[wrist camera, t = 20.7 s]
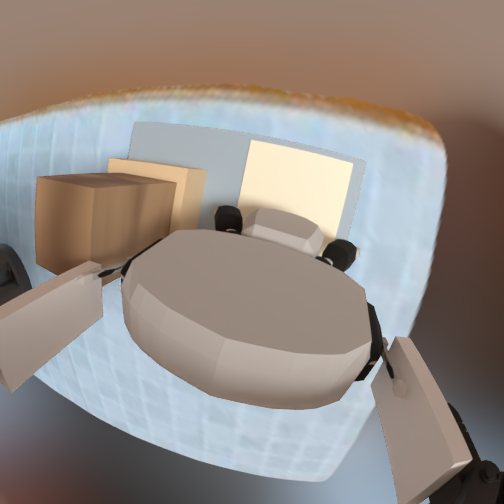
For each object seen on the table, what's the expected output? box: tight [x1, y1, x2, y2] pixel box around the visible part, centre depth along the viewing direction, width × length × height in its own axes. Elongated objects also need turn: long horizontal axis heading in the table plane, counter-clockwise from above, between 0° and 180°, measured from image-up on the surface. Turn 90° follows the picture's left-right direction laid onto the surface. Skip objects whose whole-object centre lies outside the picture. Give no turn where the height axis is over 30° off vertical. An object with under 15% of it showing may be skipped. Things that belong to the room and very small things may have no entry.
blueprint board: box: [107, 122, 366, 257], centre depth 21 cm, size 20×14×5 cm
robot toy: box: [76, 205, 407, 410], centre depth 15 cm, size 12×4×15 cm, turn 76°
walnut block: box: [35, 173, 177, 286], centre depth 15 cm, size 5×5×8 cm
